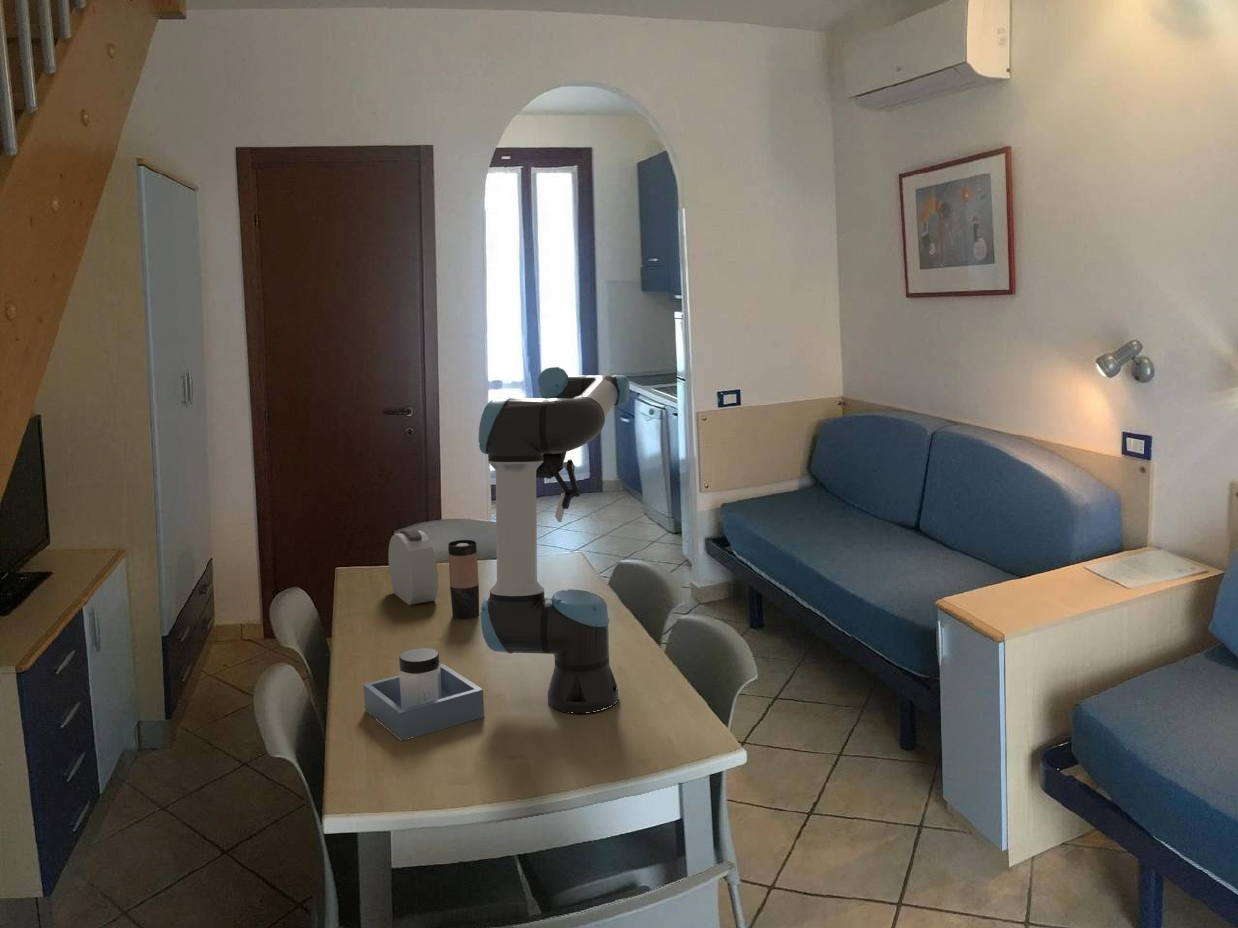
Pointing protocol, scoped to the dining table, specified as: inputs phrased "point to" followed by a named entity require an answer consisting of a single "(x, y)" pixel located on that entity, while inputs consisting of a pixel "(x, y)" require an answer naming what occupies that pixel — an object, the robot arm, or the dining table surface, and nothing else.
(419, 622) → the dining table surface
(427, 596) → the alarm clock
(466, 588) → the travel mug
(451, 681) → the bin
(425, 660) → the jar
